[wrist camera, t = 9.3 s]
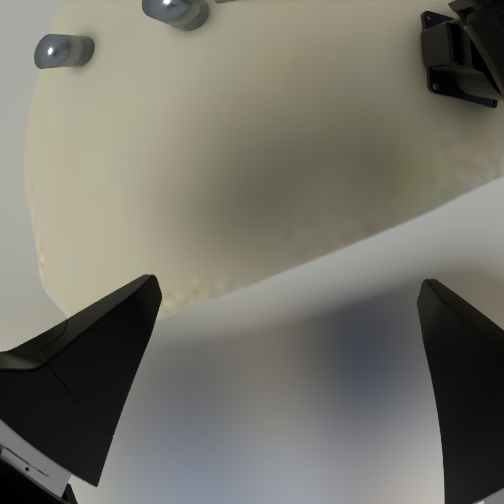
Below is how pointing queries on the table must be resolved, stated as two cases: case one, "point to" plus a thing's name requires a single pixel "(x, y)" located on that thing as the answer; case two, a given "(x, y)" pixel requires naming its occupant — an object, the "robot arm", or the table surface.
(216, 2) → the wooden pad
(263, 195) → the table surface
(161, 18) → the posts
